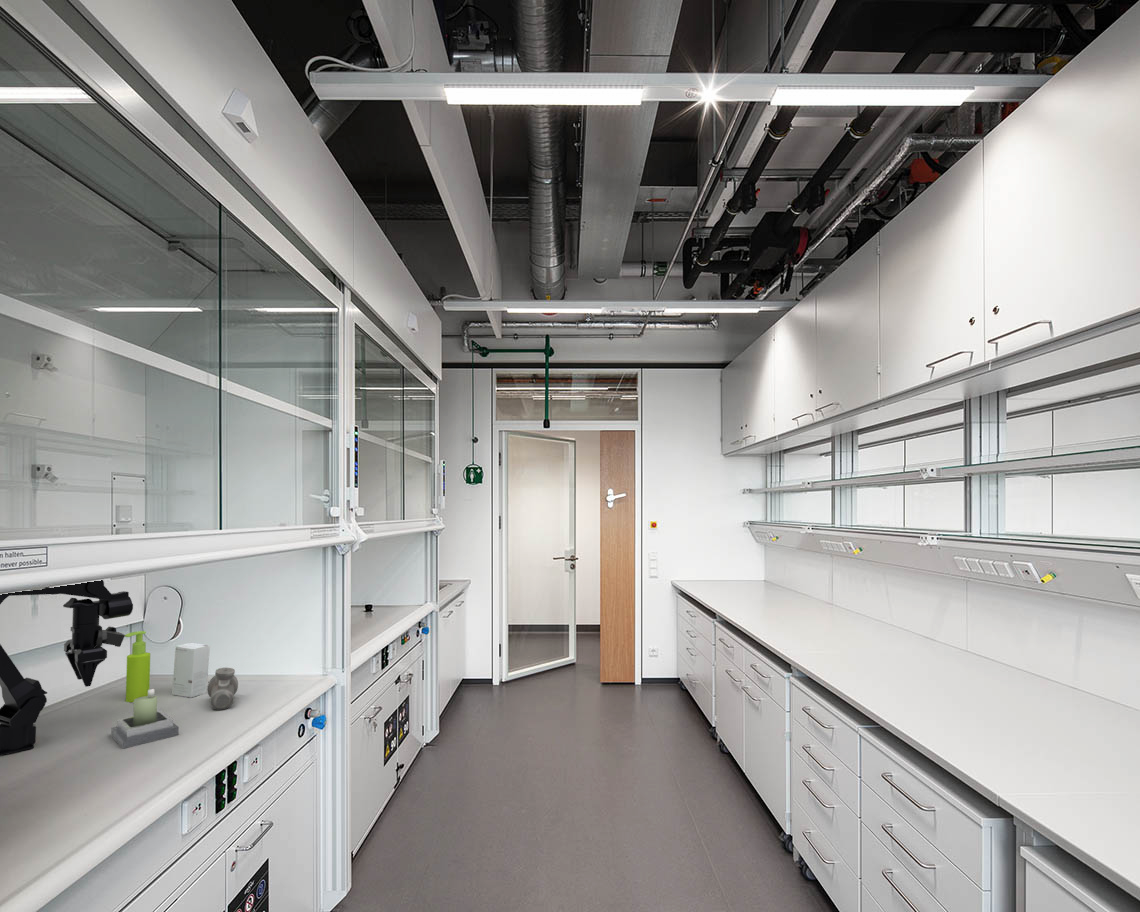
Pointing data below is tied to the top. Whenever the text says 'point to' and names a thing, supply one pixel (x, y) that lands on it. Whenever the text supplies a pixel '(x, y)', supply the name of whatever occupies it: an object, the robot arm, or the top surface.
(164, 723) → the grey square holder
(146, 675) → the soap dispenser
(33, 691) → the robot arm
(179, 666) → the skincare box
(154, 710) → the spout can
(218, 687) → the pipe fitting
